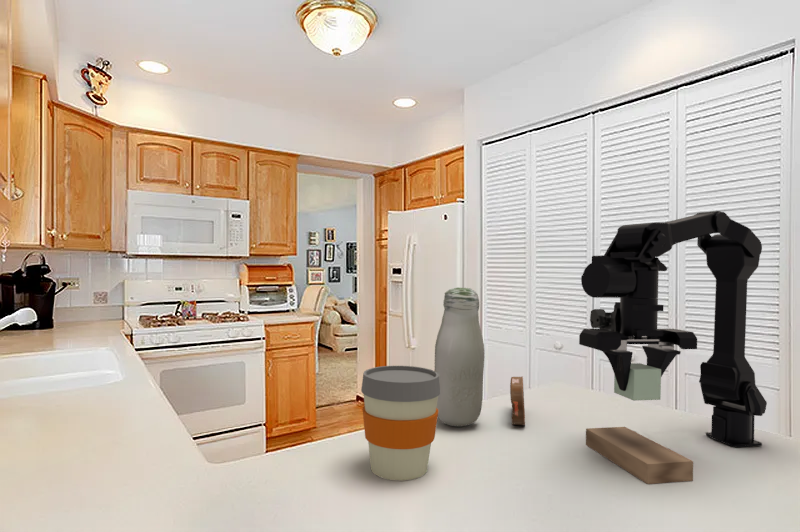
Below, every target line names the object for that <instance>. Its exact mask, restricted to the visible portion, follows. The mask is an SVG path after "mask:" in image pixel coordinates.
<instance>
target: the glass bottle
mask: <svg viewBox="0 0 800 532" xmlns="http://www.w3.org/2000/svg"><path fill="white" fill-rule="evenodd" d="M478 295H479V294H478V293H477V291H475V290H474V289H473V288H471V287H470V288H469V287H454V288H451V289H448V290H447V291H446V292H444V297H443V308H444V310H443V315H442V317H441V324H440V327H439V328H438V332H437V335H436V339H435V345H434V370H433V371H436V372H437V373H438V374H439V382H440V395H439V396H438V400H437V407H436V408H437V409H438V418H437V419H439V420H440V421H441V422H442V423H443V424H445V425H447V426H451V427H459V428H460V427H465V426H469V425H472V424H474V423H475V422H476V421H477V420H478V419H479V417H480V415H481V412H482V407H483V393H484V392H483V390H484V387H483V386H484V371H485V359H486V358H485V357H486V356H485V344H484V338H483V335H482V329H481V325H480V319H479V317H480V316H479V310H480V299H479V296H478Z"/></svg>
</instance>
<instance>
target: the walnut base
mask: <svg viewBox="0 0 800 532" xmlns="http://www.w3.org/2000/svg"><path fill="white" fill-rule="evenodd" d="M585 446H587V447H588V448H590V449H592V450H593V451H595V452H596V453H598V454H600V455H601V456H602V457H604V458H605V459H607V460H609V461H610V462H612V463H613V464H615V465H616V466H618V467H620V468H622V469H623V470H624V471H626V472H628V473H629V474H631V475H632V476H634V477H636V478H637V479H639V480H640V481H642V482H643V483H645V484H646V485H653V484H664V483H665V484H667V483H680V482H690V481H691V482H693V480H694V460H692V459H690V458H688V457H686V456H684V455H681V454H680V453H678V452H676V451H674V450H672V449H670V448H668V447H666V446H664V445H662V444H660V443H658V442H656V441H654V440H652V439H650V438H649V437H646V436H644V435H643V434H640V433H639V432H636V431H634V430H632V429H631V428H629V427H626V426H611V427H595V428H593V427H592V428H591V427H590V428H588V427H587V428H585Z"/></svg>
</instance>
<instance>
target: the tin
mask: <svg viewBox="0 0 800 532" xmlns="http://www.w3.org/2000/svg"><path fill="white" fill-rule="evenodd" d="M523 377H524V376H511V377H510V384H509V393H510V395H509V396H510V403H511V424H512V425H515V426H524V427H525V425H526V415H525V414H526V413H525V411H526V410H525V398H524V396H525V393H524V378H523Z"/></svg>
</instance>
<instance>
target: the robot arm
mask: <svg viewBox="0 0 800 532" xmlns="http://www.w3.org/2000/svg"><path fill="white" fill-rule="evenodd" d="M616 230H617V233H616V235H615V236H614V237H613V239H612V241H611V242H610V244H609V246H608V248H607V250H606V251H605V253H604V254H603V255H592V256H591V263H589V264H588V265H587V266H586V267H585V268H584V270H583V273H582V275H581V279H580V280H581V287H582V289H583V291H584V293H585V294H586V295H587V296H589V297H591V298H596V299H597V298H603V299H604V298H606V299H607V298H619V301H615V302H614V303H615V304H614V306H613V311H610V312H606V310H605V309H603V308H594V309H591V310H590V316H589V317H590V318H589V324H590V327H591V328H583V329H582V330H581V332H580V333H579V338H578V339H579V341H578V345H580V346H583V347H587V348H591V349H594V350H598V351H600V352H602V353H604V355H605V356H606V357H607V360H608V361H609V363H610V366H611V368H612V372H613V374H615V377H616V380H617V383H618V386H619V389H620V390H622V391H626V388H627V384H628V379H629V373H630V366H631V363H632V359H633V354H634V353H633V351H630V350H627V348H628V347H627V346H628V345H642V350H643V352H644V353H645V356H646V365H648V366H651V367H655V368H658V369H661V378H662V377H663V375H664V374H665V372H666V370H667V369H668V367H669V366H670V364H671V363H672V362H673V360H674V359H675V357H676V356H679V355H681V352H682V351H680V350H676V349H675V346H678V347H679V349H681V350H698V338H697V336H696V334H695V333H694V332H693V331H689V330H684V329H676V328H658V317H659V316H658V315H659V314H658V312H664V304H659V272H667V271H668V267H667V266H666V264H664V263H663V262H662V261H661V260H660V258H659V257H660V256H663V255H664V254H666V253H667V252H669V251H671V250H672V248H673V246H674V245H677V244H679V243H683V242H687V241H690V240H694V239H697V241H696V243H697V247H698V248H699V249H700V250H701V251H702V252H703V253H704V254H705V256H706V266H707V268H708V269H709V270H710V272H711V273H712V275H713V277H714V278H715V293H714V295H715V297H714V320H713V321H714V325H713V326H714V327H713V350H712V355H711V356H710V357H709V358H708V360H707V361H706V362H705V361H703V362H701V363H700V367H699V368H700V376H699V380H698V382H699V384H700V388H701V394H702V397H703V398H702V400H703V403H704V405H711V406H712V415H711V431H710V432H705V436H707V437H709V438H712V439H714V440H717V441H718V442H720V443H723V444H725V445H728V446H730V447H733V448H739V447H740V448H741V447H742V448H743V447H753V446H754V447H756V446H757V447H759V446H762V444H763V442H761V441H759V440H756V439H755V416H759V417H762V416H763V415H764V414H765V413H766V409H767V403H768V402H767V400H766V399H765V397H764V396H763V394H762V392H761V391H760V389H759V387H758V386H757V385H756V373H755V371H754V370H753V368H752V366H751V365H750V362H749V361H748V360H747V358H746V356H745V355H746V333H747V332H746V327H747V304H748V303H747V299H748V282H749V281H748V280H749V279H750V278H751V276H752V275H753V274H754V273H755V271H756V270H757V269H758V268H759V265H760V258H761V255H762V251H763V244H762V241H761V240H760V239H759V238H758V236H757V235H756V234H755V233H754V232H753V231H752V229H751V228H750V227H748V226H746V225H744V224H742V223H739V222H738V221H736V220H733V219H732V218H730V216H729V215H727V213H726V212H724V211H720V210H715V211H714V210H713V211H703V212H697V213H695V214H693V215H690V216H686V217H681V218H677V219H673V220H670V221H665V222H647V223H646V222H644V223H635V224H634V223H632V224H623V225H621V226H620V227H618V228H617V229H616ZM711 234H714V235H711Z"/></svg>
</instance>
